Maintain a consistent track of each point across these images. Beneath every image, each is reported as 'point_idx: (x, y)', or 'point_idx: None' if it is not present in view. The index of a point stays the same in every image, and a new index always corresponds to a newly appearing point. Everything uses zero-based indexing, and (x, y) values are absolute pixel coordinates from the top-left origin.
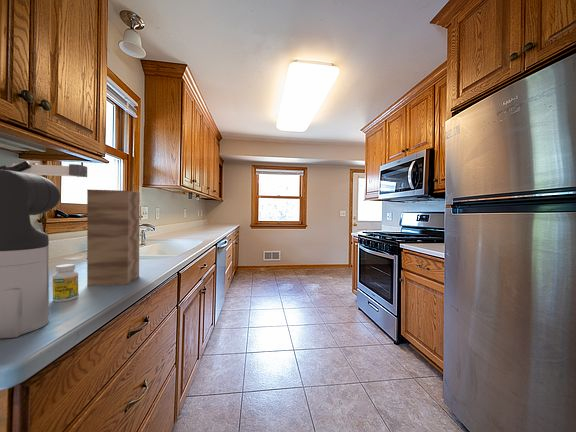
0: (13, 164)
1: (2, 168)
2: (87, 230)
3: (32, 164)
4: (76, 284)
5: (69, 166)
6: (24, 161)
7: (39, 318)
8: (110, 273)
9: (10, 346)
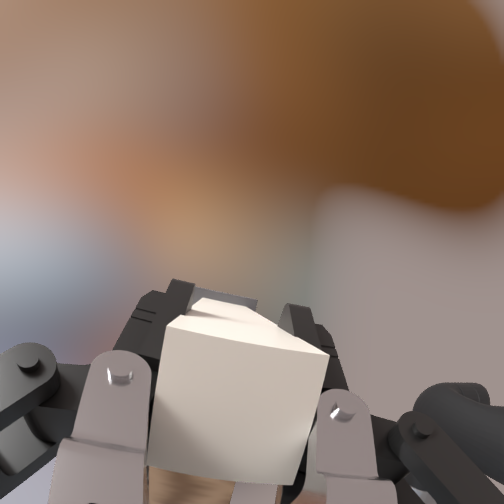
0: (320, 370)
1: (425, 457)
2: (231, 495)
3: (276, 325)
4: None
5: (254, 311)
6: (309, 310)
7: None
8: None
9: None
